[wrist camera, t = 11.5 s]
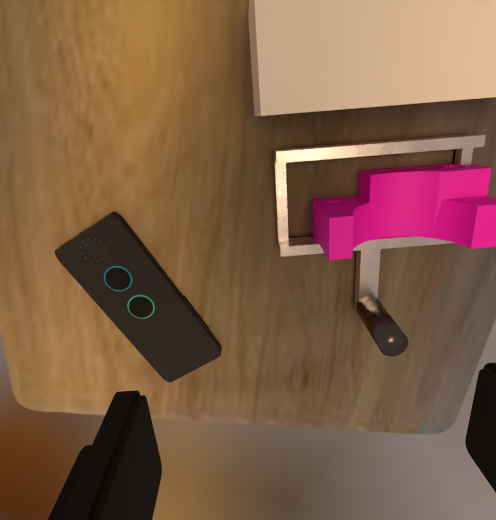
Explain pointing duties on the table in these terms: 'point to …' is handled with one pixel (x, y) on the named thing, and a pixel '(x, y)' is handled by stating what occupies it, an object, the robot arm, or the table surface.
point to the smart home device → (139, 297)
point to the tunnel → (369, 53)
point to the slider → (369, 252)
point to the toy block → (409, 208)
